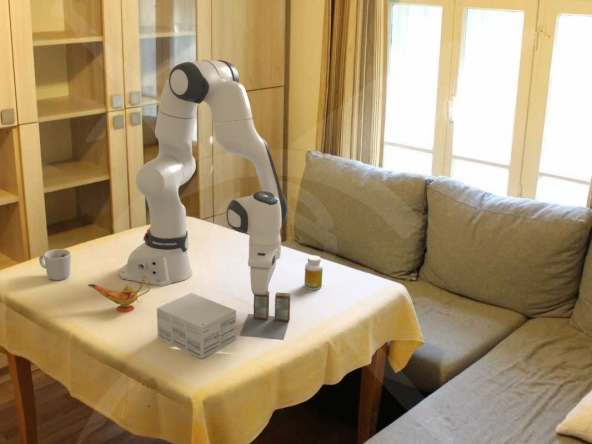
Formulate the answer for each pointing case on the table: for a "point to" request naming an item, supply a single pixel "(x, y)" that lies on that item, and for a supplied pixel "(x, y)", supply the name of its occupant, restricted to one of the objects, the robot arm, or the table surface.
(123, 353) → the table surface
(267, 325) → the slate rubber mat
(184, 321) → the supplement box
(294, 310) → the table surface
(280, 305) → the right walnut tile
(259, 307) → the left walnut tile
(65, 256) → the cup
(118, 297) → the magic lamp
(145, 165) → the robot arm
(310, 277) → the supplement bottle
